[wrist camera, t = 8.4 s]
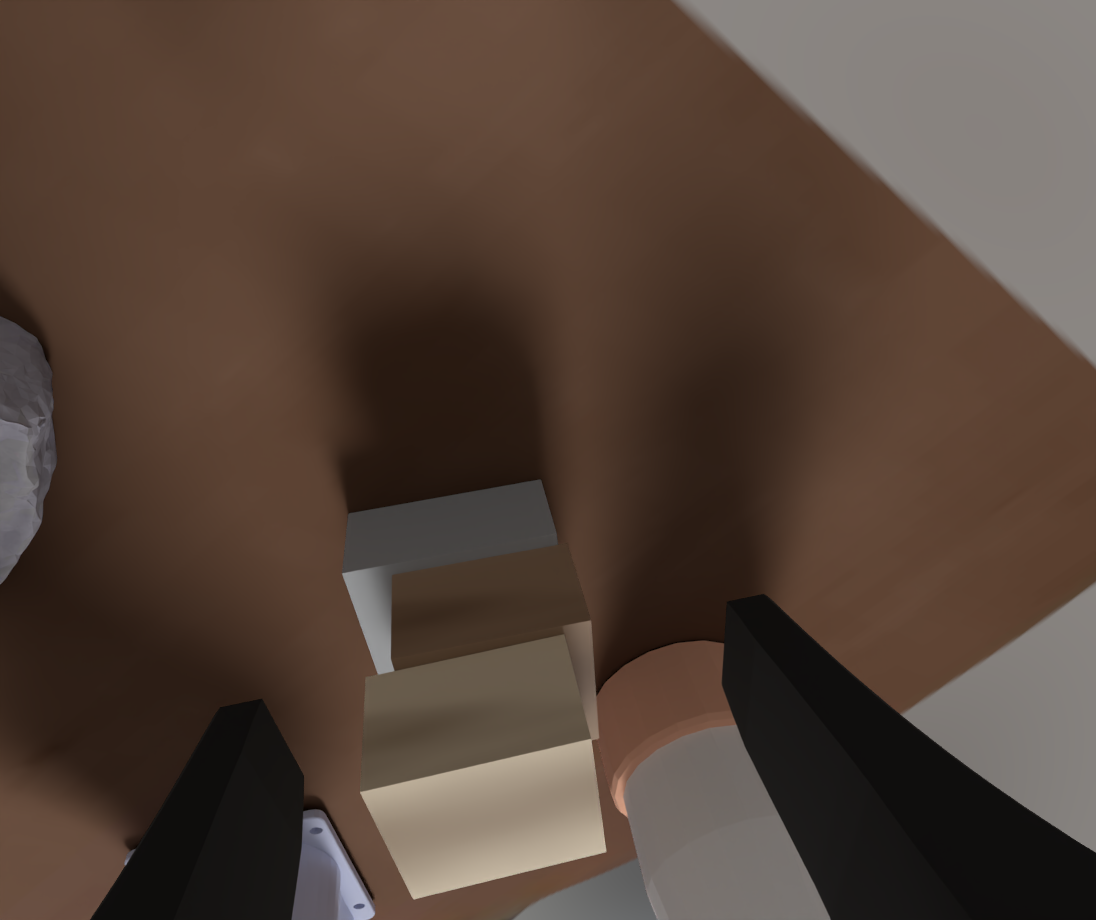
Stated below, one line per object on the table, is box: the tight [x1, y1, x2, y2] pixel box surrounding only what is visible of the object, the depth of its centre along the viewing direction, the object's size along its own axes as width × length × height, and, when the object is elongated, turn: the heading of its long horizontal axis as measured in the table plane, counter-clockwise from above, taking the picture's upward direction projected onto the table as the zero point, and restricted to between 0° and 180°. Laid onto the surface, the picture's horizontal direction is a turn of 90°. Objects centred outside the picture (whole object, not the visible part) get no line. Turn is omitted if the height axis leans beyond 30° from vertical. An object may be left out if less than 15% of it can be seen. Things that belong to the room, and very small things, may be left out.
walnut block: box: [391, 543, 599, 740], centre depth 20 cm, size 5×5×3 cm
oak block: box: [360, 634, 606, 899], centre depth 17 cm, size 5×5×3 cm
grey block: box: [342, 479, 558, 675], centre depth 22 cm, size 6×6×3 cm
